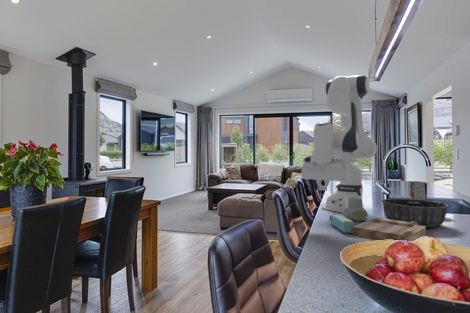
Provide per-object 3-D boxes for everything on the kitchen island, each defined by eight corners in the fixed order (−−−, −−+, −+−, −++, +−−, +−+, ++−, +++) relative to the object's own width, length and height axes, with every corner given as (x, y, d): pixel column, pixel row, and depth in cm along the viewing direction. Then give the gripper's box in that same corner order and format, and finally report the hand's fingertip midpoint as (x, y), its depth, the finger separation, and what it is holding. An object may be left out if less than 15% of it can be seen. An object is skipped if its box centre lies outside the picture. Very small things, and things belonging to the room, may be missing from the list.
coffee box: (427, 214, 178) (427, 182, 178) (413, 213, 179) (414, 182, 179) (421, 211, 187) (421, 181, 187) (408, 210, 188) (408, 181, 188)
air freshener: (347, 221, 159) (347, 200, 158) (340, 218, 167) (340, 197, 167) (370, 221, 159) (370, 200, 159) (362, 218, 167) (362, 197, 167)
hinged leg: (354, 232, 136) (354, 221, 136) (343, 232, 136) (344, 221, 136) (338, 223, 154) (338, 212, 154) (329, 223, 154) (329, 212, 154)
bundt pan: (412, 217, 171) (413, 196, 171) (463, 228, 146) (463, 205, 146) (368, 220, 162) (369, 199, 162) (414, 233, 137) (415, 208, 137)
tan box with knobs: (352, 234, 135) (352, 223, 135) (372, 226, 150) (372, 215, 150) (413, 245, 120) (413, 232, 120) (428, 234, 135) (428, 223, 135)
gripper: (349, 159, 147) (348, 191, 147) (306, 158, 161) (306, 188, 161) (342, 159, 142) (342, 192, 142) (299, 158, 156) (299, 189, 156)
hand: (323, 190), depth 152 cm, fingers closed
